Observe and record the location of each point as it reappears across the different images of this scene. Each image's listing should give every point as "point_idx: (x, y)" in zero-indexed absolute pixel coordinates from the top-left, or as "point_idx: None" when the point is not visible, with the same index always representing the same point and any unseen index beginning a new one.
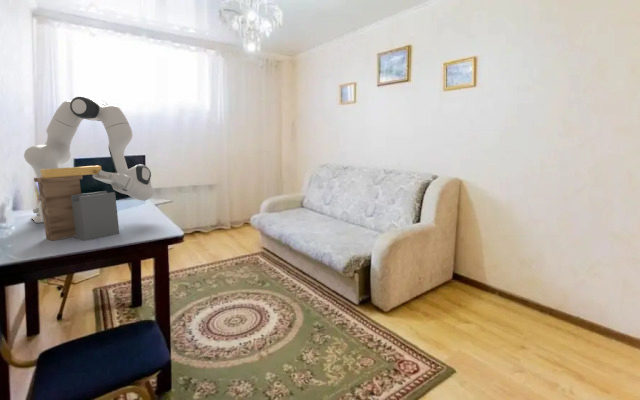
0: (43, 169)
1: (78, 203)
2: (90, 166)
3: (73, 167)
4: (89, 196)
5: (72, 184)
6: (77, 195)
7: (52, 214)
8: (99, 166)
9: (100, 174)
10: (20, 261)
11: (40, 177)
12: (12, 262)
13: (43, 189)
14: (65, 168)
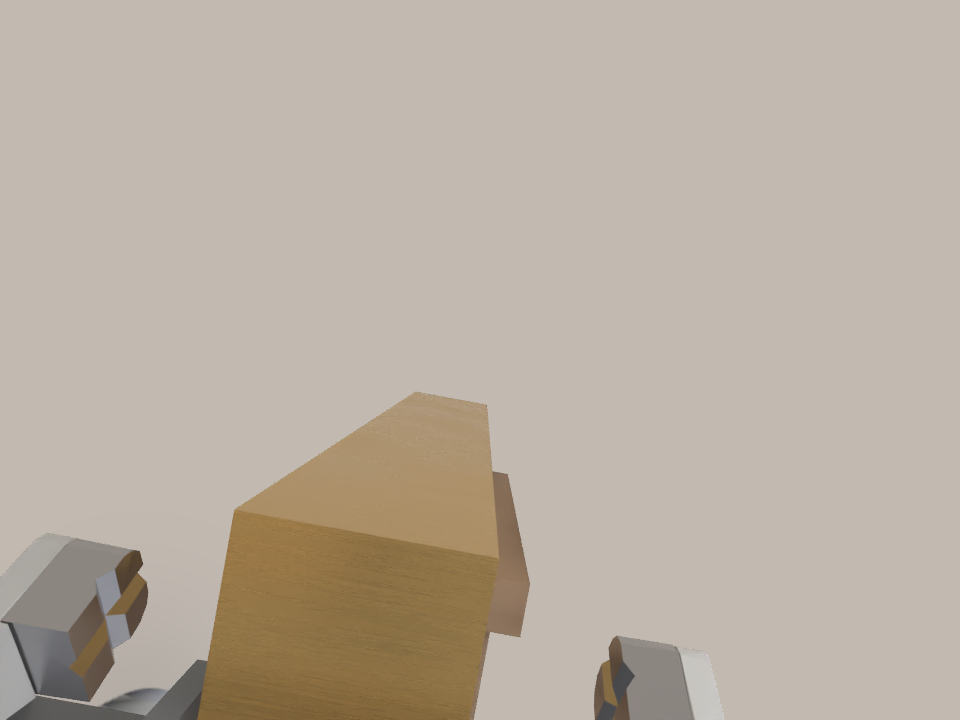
0: (441, 397)
1: (55, 709)
2: (366, 464)
3: (427, 427)
4: None
5: None
6: (169, 697)
7: None
8: (254, 509)
9: (101, 679)
10: (116, 708)
11: (502, 481)
12: (143, 697)
13: None
14: (392, 408)
